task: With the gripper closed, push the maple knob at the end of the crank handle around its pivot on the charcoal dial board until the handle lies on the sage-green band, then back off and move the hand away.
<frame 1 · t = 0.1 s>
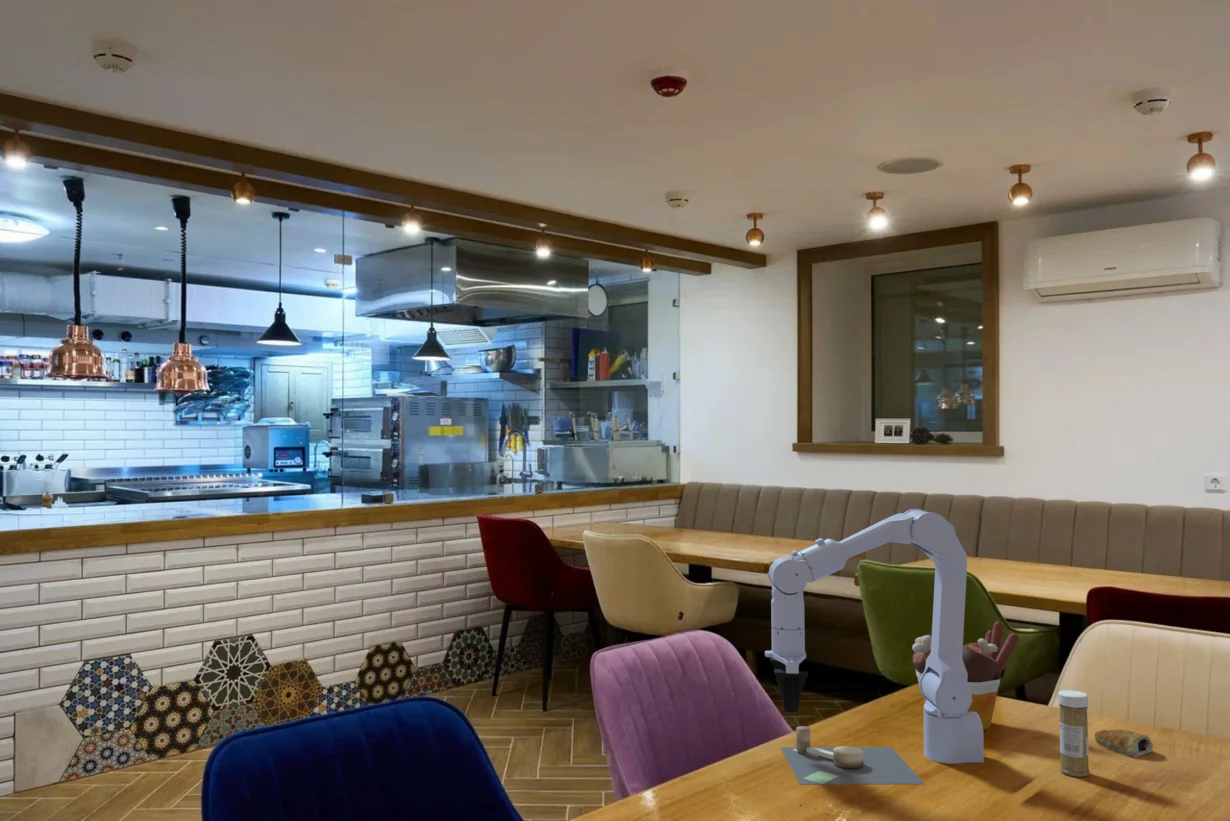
hand: (788, 705, 165), 10 cm above the table, fingers open, 7 cm apart
crank handle: (828, 746, 164), point 3 cm above the table, hinge at 0.0°
pastry: (1124, 751, 172), on the table
bucket of meat: (961, 725, 187), on the table
sprinkles bottle: (1074, 774, 160), on the table
dial board: (848, 771, 161), on the table
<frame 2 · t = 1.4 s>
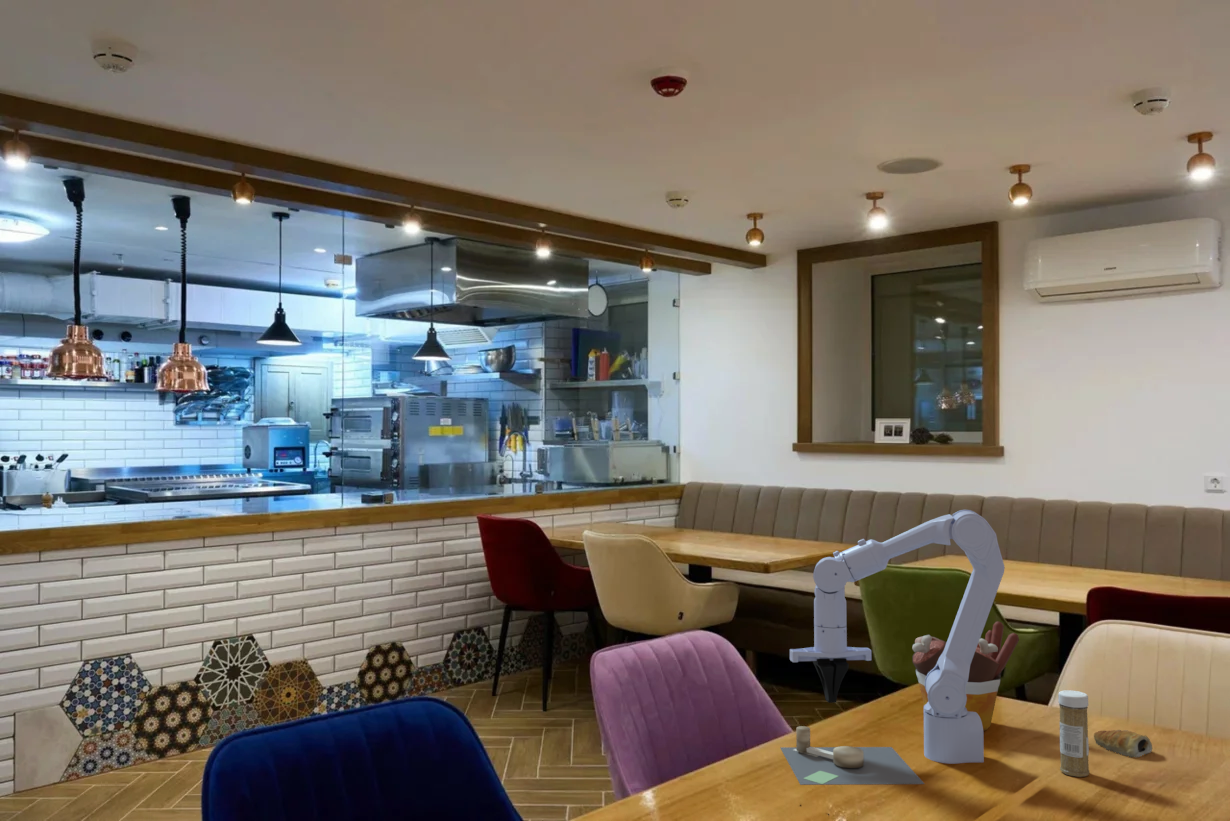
hand: (830, 701, 170), 9 cm above the table, fingers closed
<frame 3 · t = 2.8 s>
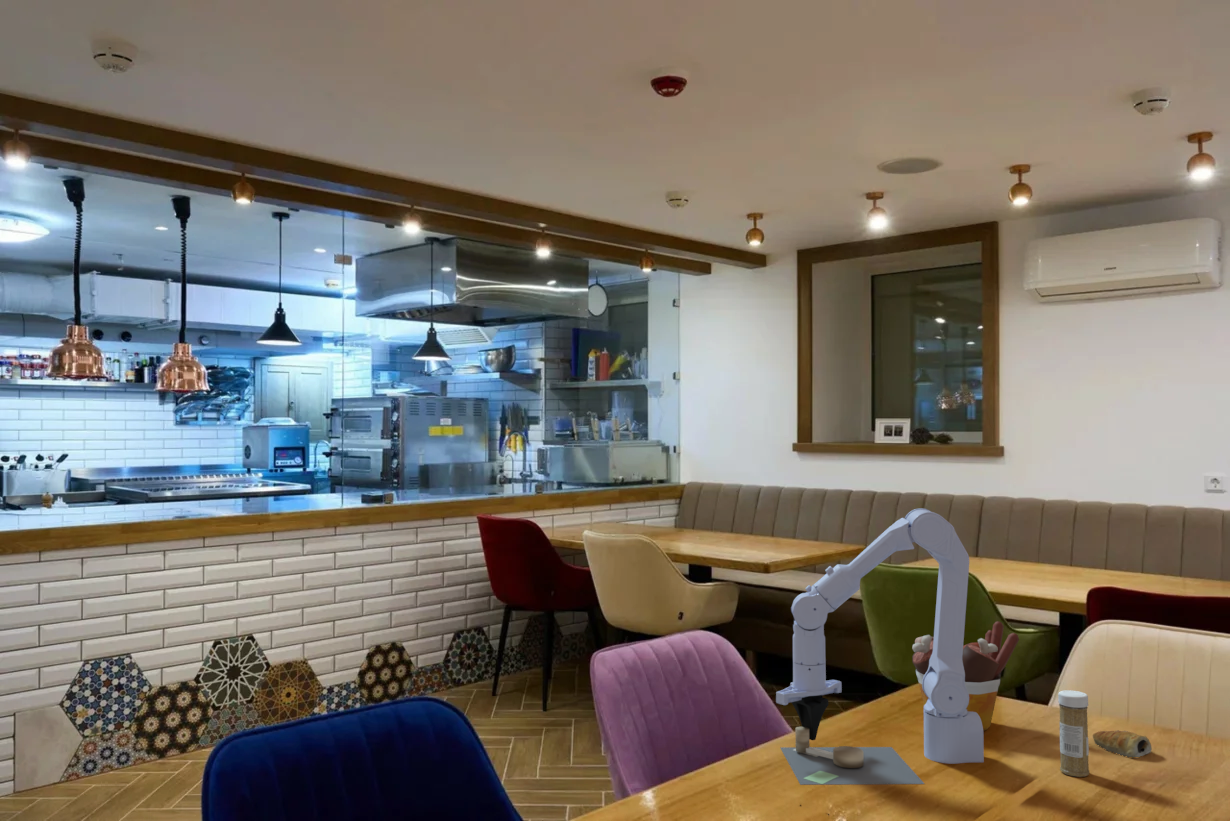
hand: (809, 738, 168), 3 cm above the table, fingers closed
crank handle: (828, 746, 164), point 3 cm above the table, hinge at 1.8°, touching gripper
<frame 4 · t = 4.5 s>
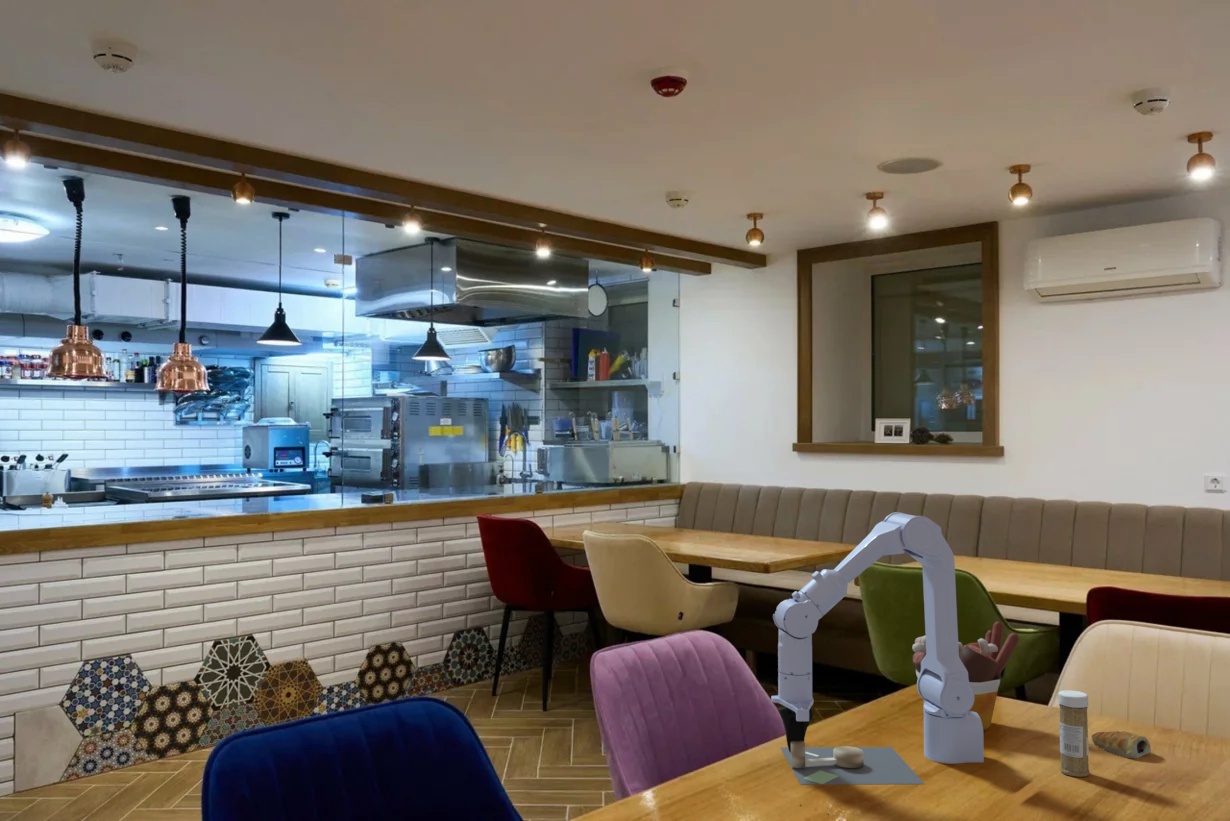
hand: (795, 751, 161), 3 cm above the table, fingers closed
crank handle: (826, 752, 160), point 3 cm above the table, hinge at 54.8°, touching gripper
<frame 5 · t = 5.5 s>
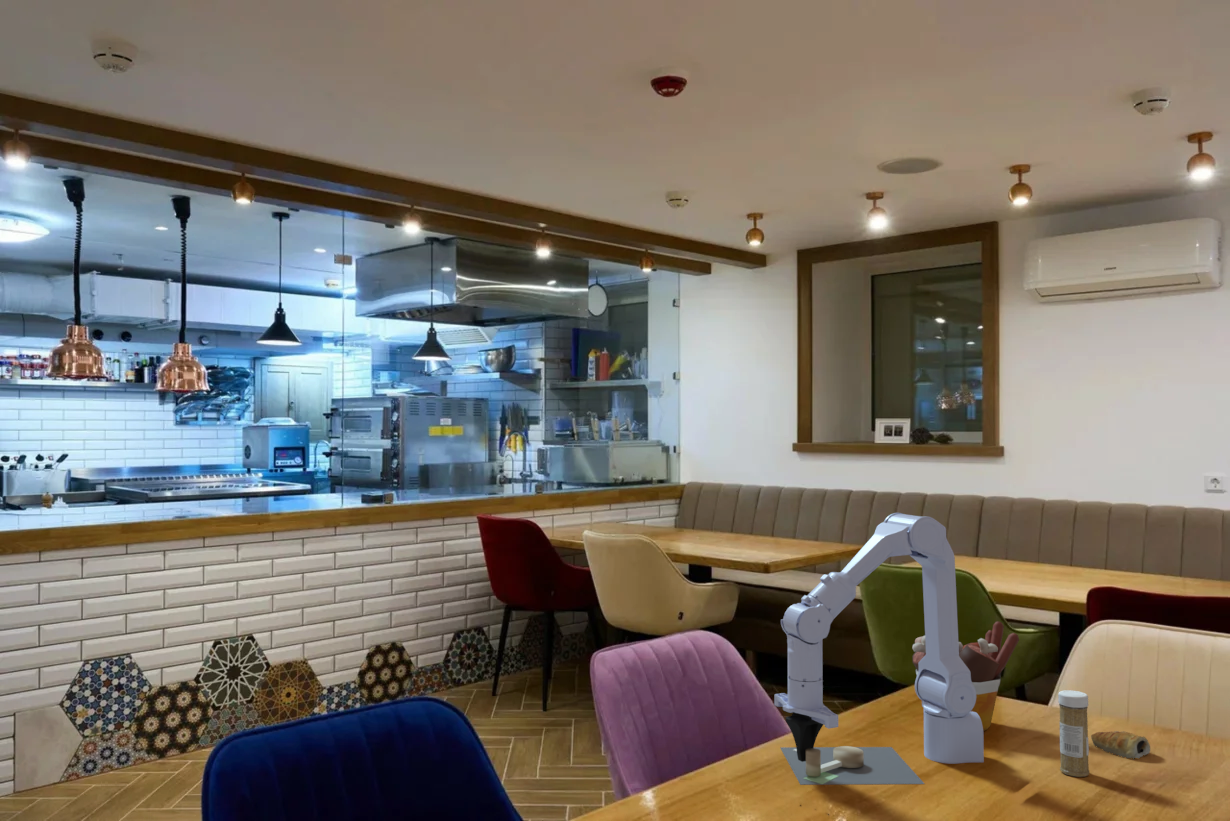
hand: (805, 760, 157), 3 cm above the table, fingers closed
crank handle: (833, 756, 159), point 3 cm above the table, hinge at 82.4°, touching gripper
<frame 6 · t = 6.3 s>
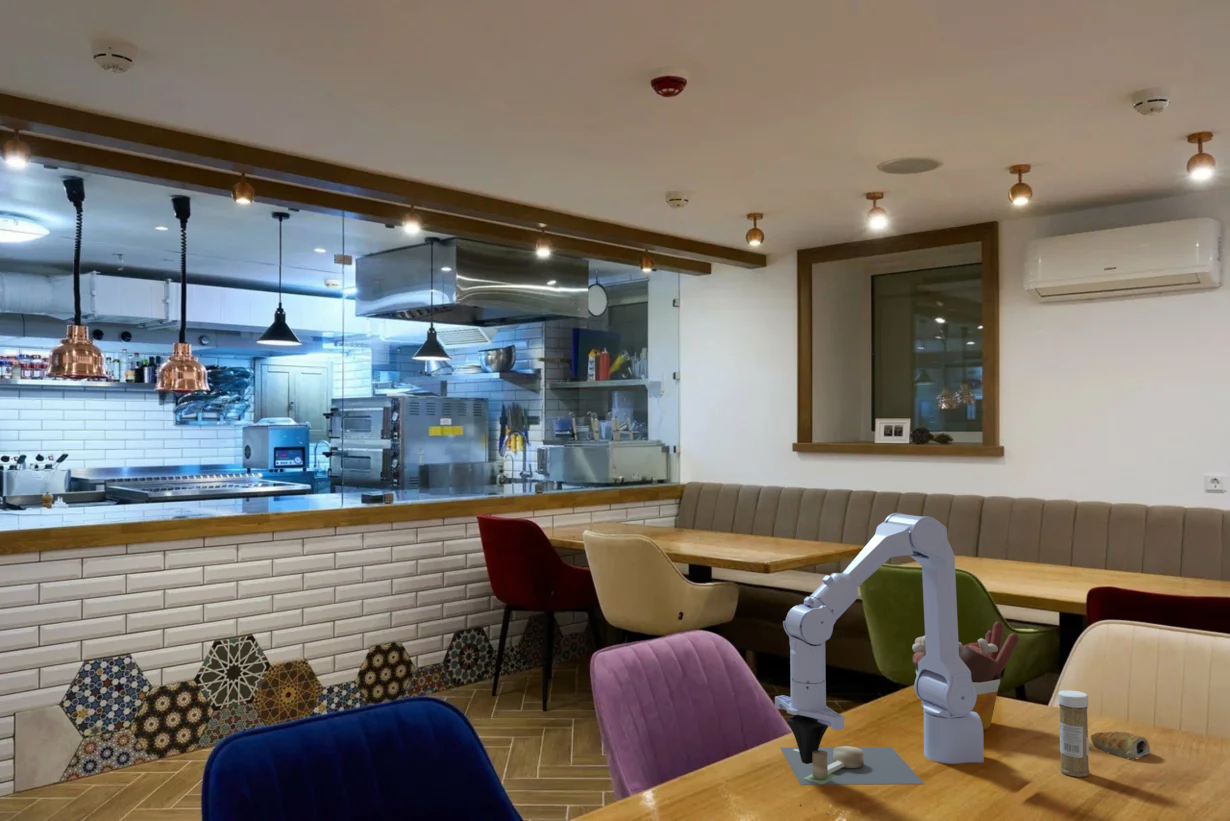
hand: (808, 762, 156), 3 cm above the table, fingers closed
crank handle: (836, 756, 158), point 3 cm above the table, hinge at 90.9°, touching gripper
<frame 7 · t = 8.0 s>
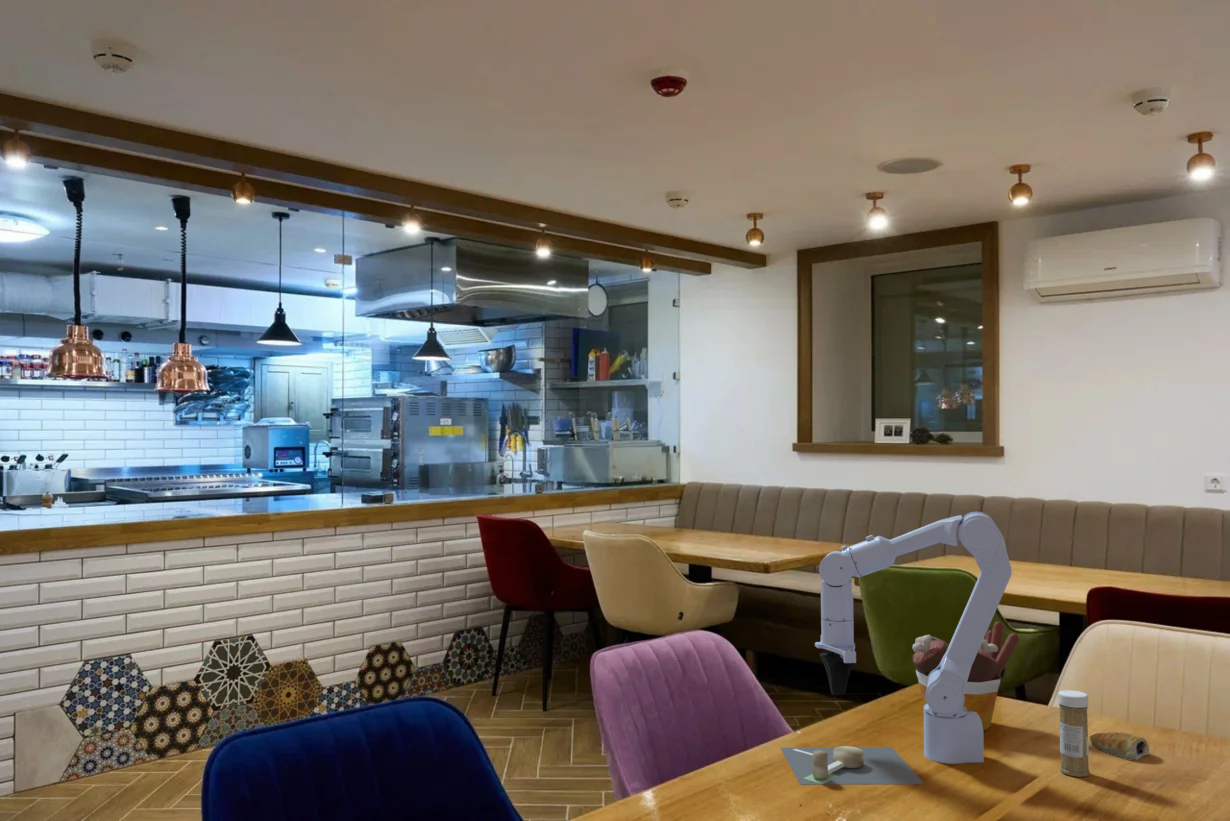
hand: (838, 694, 171), 10 cm above the table, fingers closed
crank handle: (836, 756, 158), point 3 cm above the table, hinge at 91.2°
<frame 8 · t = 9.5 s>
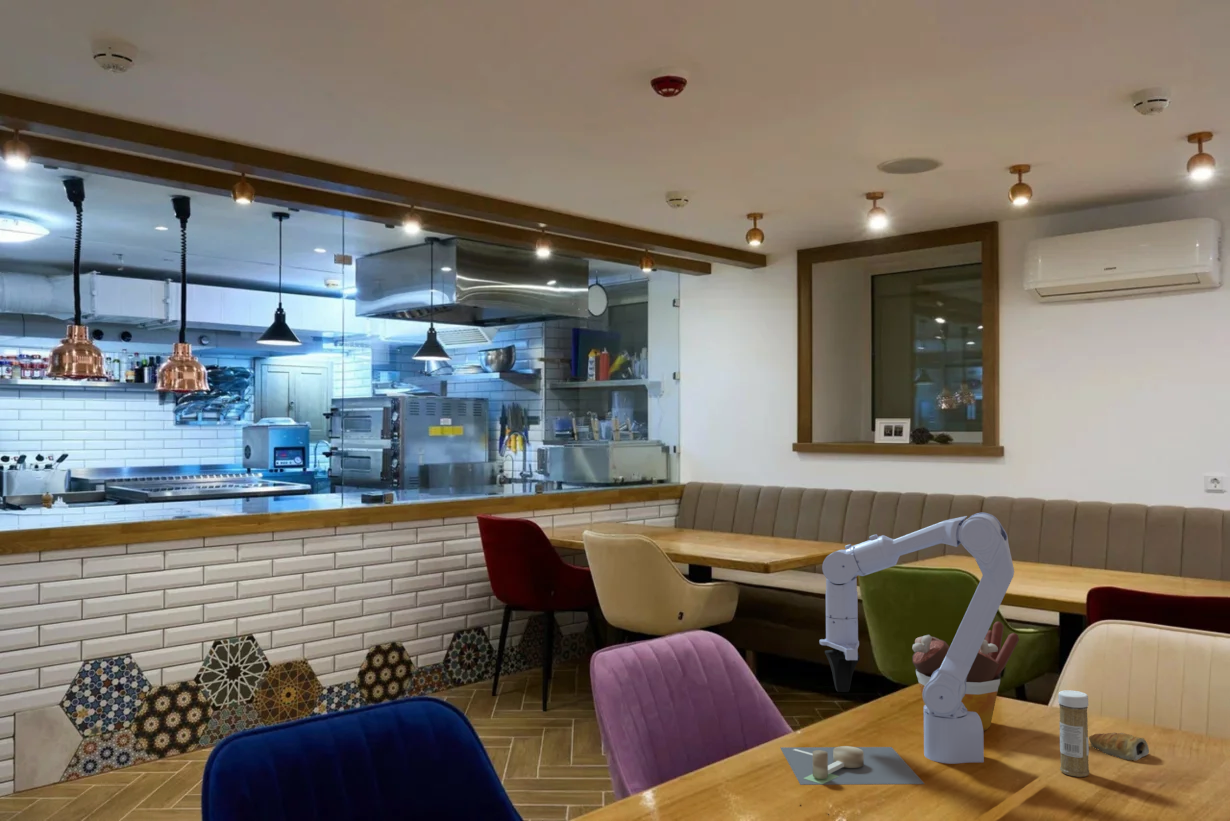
hand: (842, 691, 173), 10 cm above the table, fingers closed
at the end: crank handle at +91° (first picture: +0°); the gripper is holding nothing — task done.
